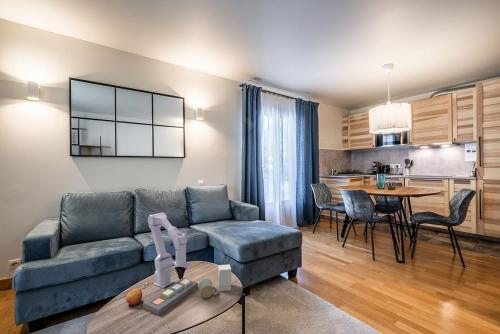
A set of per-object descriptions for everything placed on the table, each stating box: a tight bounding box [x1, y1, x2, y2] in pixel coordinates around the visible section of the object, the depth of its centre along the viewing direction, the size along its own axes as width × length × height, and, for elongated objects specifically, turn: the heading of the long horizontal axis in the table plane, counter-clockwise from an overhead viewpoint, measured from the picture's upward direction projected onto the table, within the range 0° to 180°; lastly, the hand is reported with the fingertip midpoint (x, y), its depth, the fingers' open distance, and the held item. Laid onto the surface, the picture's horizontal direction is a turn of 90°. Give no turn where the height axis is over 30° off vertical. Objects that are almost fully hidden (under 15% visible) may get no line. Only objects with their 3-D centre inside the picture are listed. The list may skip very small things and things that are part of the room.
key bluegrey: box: [171, 284, 183, 293], centre depth 132 cm, size 4×4×2 cm
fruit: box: [125, 287, 143, 306], centre depth 125 cm, size 8×8×8 cm
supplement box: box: [217, 263, 232, 292], centre depth 139 cm, size 7×7×13 cm
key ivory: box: [180, 278, 192, 287], centre depth 138 cm, size 4×4×2 cm
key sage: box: [162, 289, 174, 299], centre depth 127 cm, size 4×4×2 cm
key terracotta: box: [152, 298, 165, 306], centre depth 121 cm, size 4×4×2 cm
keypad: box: [142, 277, 199, 316], centre depth 130 cm, size 12×29×3 cm, turn 152°
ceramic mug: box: [198, 278, 219, 299], centre depth 133 cm, size 11×8×8 cm
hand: (180, 278), depth 135 cm, fingers closed
